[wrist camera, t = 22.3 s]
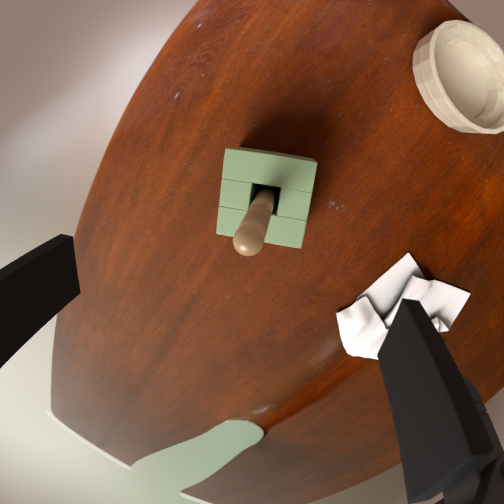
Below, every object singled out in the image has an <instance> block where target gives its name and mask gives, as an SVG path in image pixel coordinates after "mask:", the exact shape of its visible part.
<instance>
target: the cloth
mask: <svg viewBox="0 0 504 504" xmlns="http://www.w3.org/2000/svg"><path fill="white" fill-rule="evenodd" d="M469 295H470V293H468V292H466V291H464V290H461V289H459V288H456V287H454V286H451V285H449V284H446V283H443V282H441V281H437V280H431V281H428V280H426V279H425V277H424V276H423V274H422V272H421V271H420V269H419V267H418V266H417V264H416V263H415V261H414V259H413V258H412V257H411V255H410V254H409V253H407V254H406V255H405V256H404V257H403V258H401V259H400V260H399V261H398V262H397V263H396V264H395V265H393V266H392V267H391V268H390V269H389V270H388V271H387V272H385V273H384V274H383V275H382V276H381V277H379V278H378V279H377V280H376V281H375V282H374V283H373V284H372V285H371V286H370V287H369V288H367V289H366V290H365V291H364V292H363V293H362V294H360V295H359V296H358V297H357V299H356V301H355V303H354V304H353V305H351V306H350V307H348V308H346V309H344V310H343V311H341V312H338V313H336V315H337V321H338V326H339V330H340V336H341V339H342V344H343V346H344V348H345V349H346V351H347V354H349V355H351V356H361V357H364V358H373V359H378V357H377V354H378V351H379V349H380V347H381V345H382V343H383V341H384V339H385V337H386V335H387V333H388V330H389V328H390V326H391V324H392V321H393V319H394V317H395V314H396V312H397V310H398V307H399V305H400V302H401V300H402V298H405V299H412V300H419V301H420V303H421V304H422V306H423V307H424V309H425V311H426V312H427V314H428V316H429V317H430V319H431V321H432V322H433V324H434V326H435V327H436V329H437V331H438V333H439V332H444V331H449V330H450V328H451V325H452V323H453V321H454V320H455V318H456V317H457V315H458V314H459V312H460V310H461V309H462V307H463V306H464V304H465V302H466V301H467V299H468V297H469Z"/></svg>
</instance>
